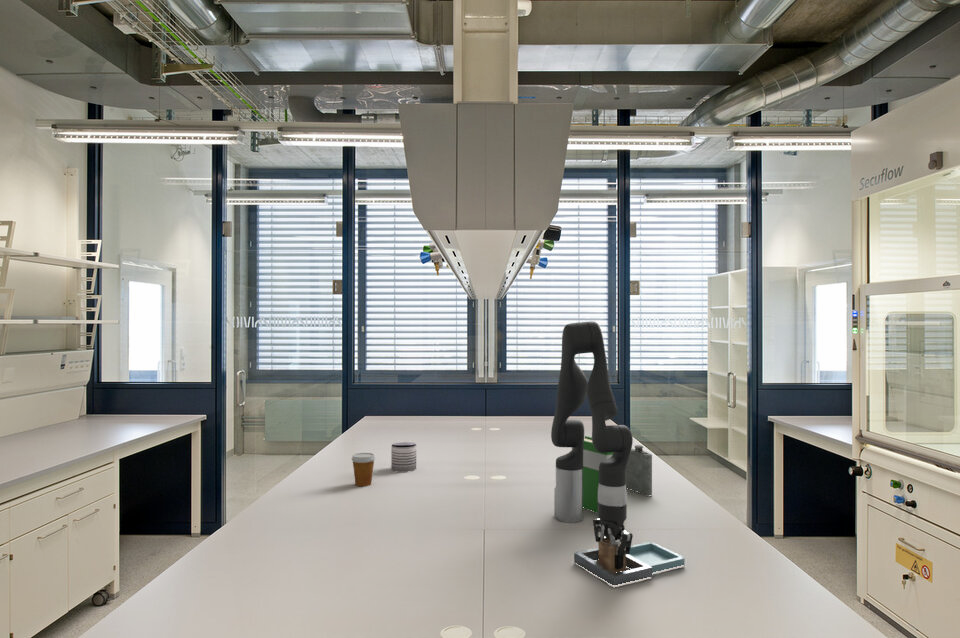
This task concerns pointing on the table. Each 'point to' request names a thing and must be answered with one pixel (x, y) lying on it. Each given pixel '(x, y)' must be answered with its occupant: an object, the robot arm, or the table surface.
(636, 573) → the holder
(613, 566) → the walnut block
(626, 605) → the table surface
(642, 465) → the flask
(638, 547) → the tray
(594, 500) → the hardback book
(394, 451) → the can
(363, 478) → the disposable coffee cup
